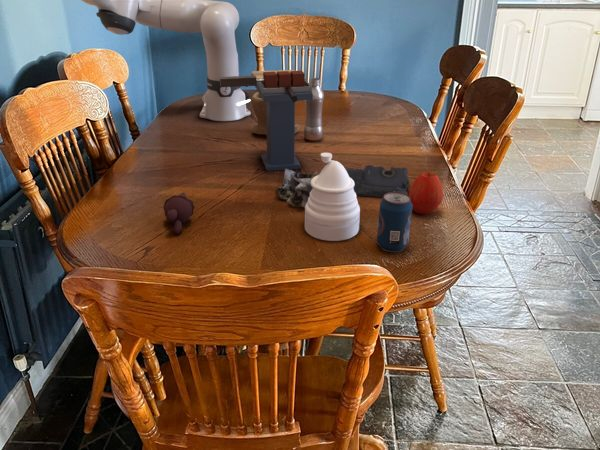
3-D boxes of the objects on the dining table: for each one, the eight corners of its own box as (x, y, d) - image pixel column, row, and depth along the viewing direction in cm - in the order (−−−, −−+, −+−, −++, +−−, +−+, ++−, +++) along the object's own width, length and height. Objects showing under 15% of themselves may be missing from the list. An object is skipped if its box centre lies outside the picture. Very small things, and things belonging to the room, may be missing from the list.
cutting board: (251, 74, 167) (251, 71, 166) (295, 73, 169) (295, 69, 169) (256, 83, 158) (256, 79, 158) (302, 81, 161) (302, 77, 160)
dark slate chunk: (329, 171, 165) (330, 156, 162) (406, 176, 162) (408, 161, 160) (324, 193, 151) (325, 177, 149) (408, 199, 149) (410, 182, 146)
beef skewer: (219, 87, 152) (219, 73, 150) (304, 83, 156) (304, 70, 155) (221, 90, 149) (220, 76, 147) (307, 86, 153) (307, 73, 152)
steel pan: (257, 84, 157) (256, 77, 157) (302, 82, 160) (303, 75, 159) (268, 104, 140) (268, 96, 139) (320, 101, 143) (320, 94, 142)
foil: (329, 176, 153) (320, 165, 139) (321, 215, 153) (312, 208, 138) (287, 169, 156) (275, 157, 141) (279, 208, 155) (266, 200, 140)
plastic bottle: (323, 136, 192) (325, 76, 182) (322, 143, 186) (324, 81, 177) (304, 135, 192) (305, 76, 183) (302, 142, 186) (303, 81, 177)
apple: (446, 216, 140) (452, 176, 135) (416, 220, 138) (421, 179, 133) (430, 202, 147) (436, 163, 142) (401, 206, 145) (406, 166, 140)
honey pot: (296, 234, 131) (297, 161, 123) (315, 211, 142) (316, 142, 133) (350, 245, 127) (354, 170, 119) (365, 220, 138) (370, 150, 129)
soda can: (376, 237, 131) (380, 189, 125) (406, 239, 130) (412, 191, 124) (376, 252, 124) (381, 203, 119) (408, 254, 124) (414, 205, 118)
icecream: (164, 184, 140) (151, 216, 127) (193, 177, 139) (183, 209, 126) (174, 207, 144) (163, 241, 131) (202, 201, 143) (193, 235, 130)
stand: (253, 150, 179) (251, 73, 168) (293, 148, 182) (294, 72, 170) (265, 181, 158) (263, 95, 147) (310, 177, 161) (312, 93, 150)
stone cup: (246, 138, 190) (244, 93, 183) (258, 127, 200) (257, 84, 193) (289, 142, 186) (290, 97, 179) (300, 131, 196) (300, 88, 189)
